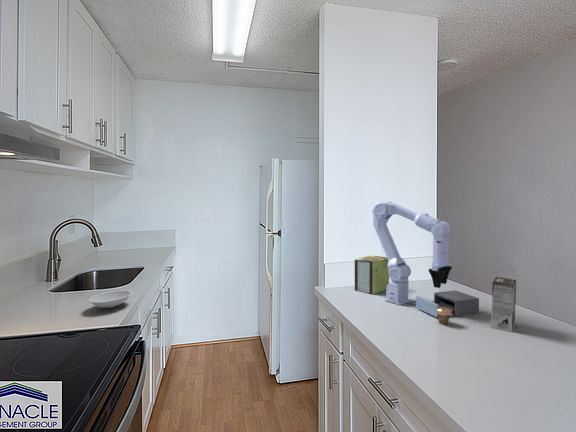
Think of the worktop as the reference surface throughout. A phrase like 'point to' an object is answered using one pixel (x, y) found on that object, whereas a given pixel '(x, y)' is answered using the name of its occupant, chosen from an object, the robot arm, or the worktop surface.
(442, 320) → the post
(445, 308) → the puck
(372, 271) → the protein box
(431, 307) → the tray
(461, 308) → the box
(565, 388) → the worktop surface
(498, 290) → the coffee box
